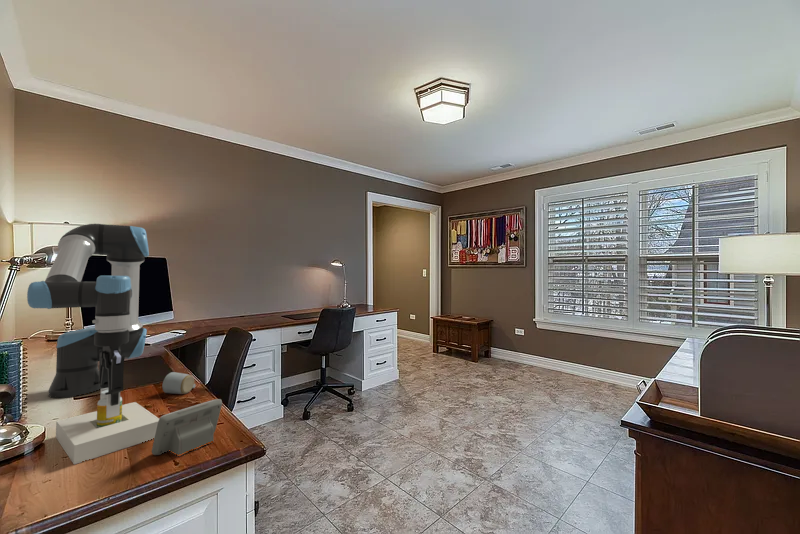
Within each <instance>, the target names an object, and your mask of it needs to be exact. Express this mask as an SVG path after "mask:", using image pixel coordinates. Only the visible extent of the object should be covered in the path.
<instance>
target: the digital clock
mask: <svg viewBox="0 0 800 534" xmlns="http://www.w3.org/2000/svg"><path fill="white" fill-rule="evenodd" d="M222 405H223V401H222V399H221V398H217V399H216V398H215V399H211V400H208V401H205V402H201V403H198V404H195V405H192V406H189V407H185V408H182V409H179V410H176V411H172V412H170V413H166V414H163V415H161V416H160V417H159V421H158V425H157V429H156V434H155V438H154V439H153V443H152V448H151V454H152V455H154V456H159V455H162V453H163V454H165V453H164V452H166V453H168V452H169V450H170V451H172V452H174V453H176V454H178V455H179V454H182V453H184V452H186V451H189V450H191V449H194V448H196V447H199V446H201V445H204V444H206V443H208V442H211V441H213V442H214V433H215V432H216V429H217V425H218V422H219V417H220V413H221V410H222V409H221V408H222ZM167 451H168V452H167Z"/></svg>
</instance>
